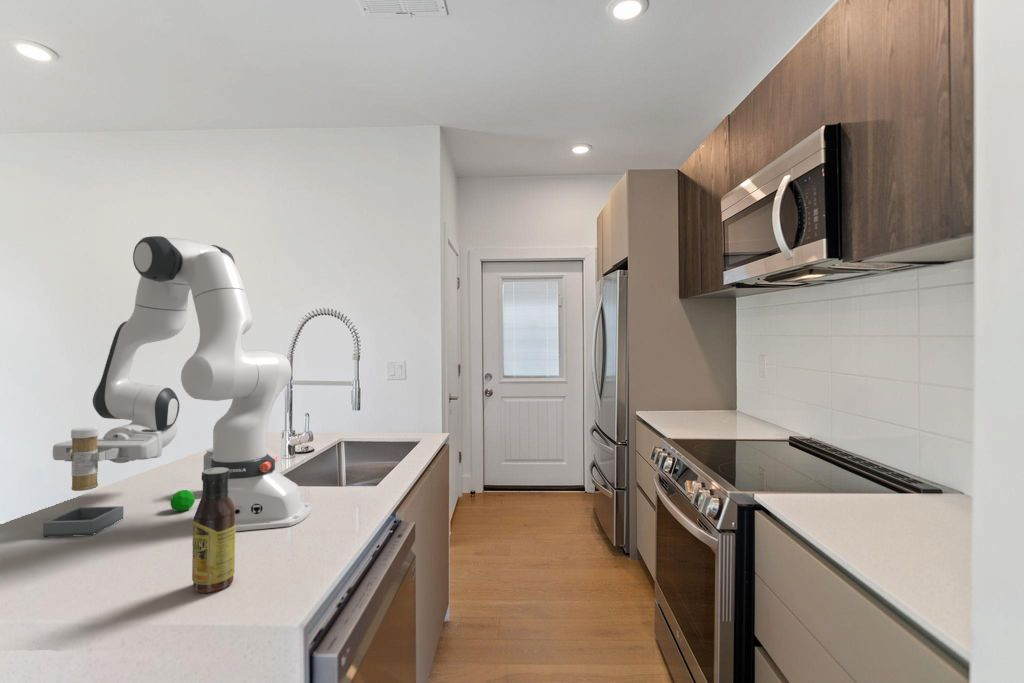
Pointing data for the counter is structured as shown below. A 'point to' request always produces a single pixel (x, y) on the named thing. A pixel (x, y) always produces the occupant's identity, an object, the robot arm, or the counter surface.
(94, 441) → the sprinkles bottle
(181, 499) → the polyhedron
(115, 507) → the bin
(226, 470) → the sauce bottle
